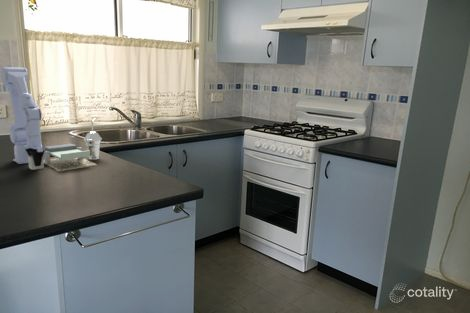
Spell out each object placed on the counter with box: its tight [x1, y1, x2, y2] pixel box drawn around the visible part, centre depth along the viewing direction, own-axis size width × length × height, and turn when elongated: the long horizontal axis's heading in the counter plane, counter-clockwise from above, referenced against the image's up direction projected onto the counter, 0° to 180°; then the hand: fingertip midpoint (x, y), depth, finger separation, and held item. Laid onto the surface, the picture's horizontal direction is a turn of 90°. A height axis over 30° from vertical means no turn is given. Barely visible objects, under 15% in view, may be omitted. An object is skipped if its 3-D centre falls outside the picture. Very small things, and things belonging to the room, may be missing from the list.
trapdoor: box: [44, 143, 90, 160], centre depth 180 cm, size 21×13×4 cm, turn 45°
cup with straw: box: [83, 117, 103, 161], centre depth 190 cm, size 8×9×20 cm
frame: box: [43, 146, 97, 172], centre depth 181 cm, size 22×18×6 cm
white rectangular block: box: [27, 156, 45, 171], centre depth 171 cm, size 4×5×6 cm
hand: (36, 164), depth 172 cm, fingers closed on white rectangular block, 4 cm apart
